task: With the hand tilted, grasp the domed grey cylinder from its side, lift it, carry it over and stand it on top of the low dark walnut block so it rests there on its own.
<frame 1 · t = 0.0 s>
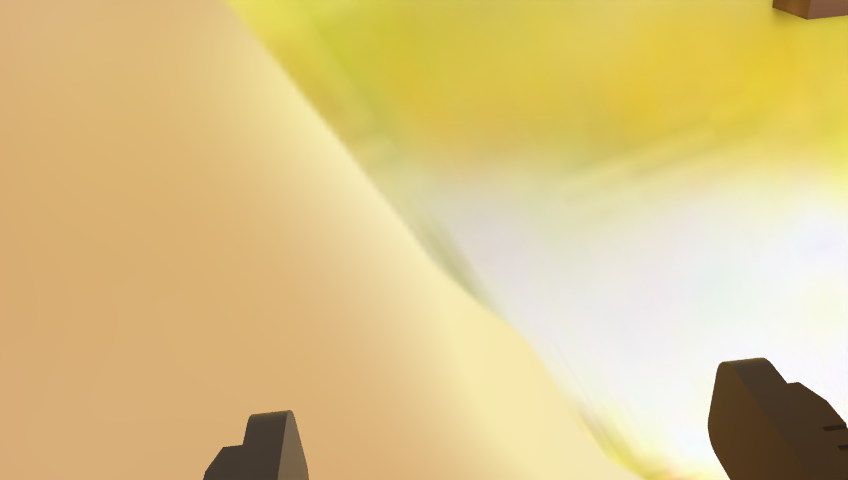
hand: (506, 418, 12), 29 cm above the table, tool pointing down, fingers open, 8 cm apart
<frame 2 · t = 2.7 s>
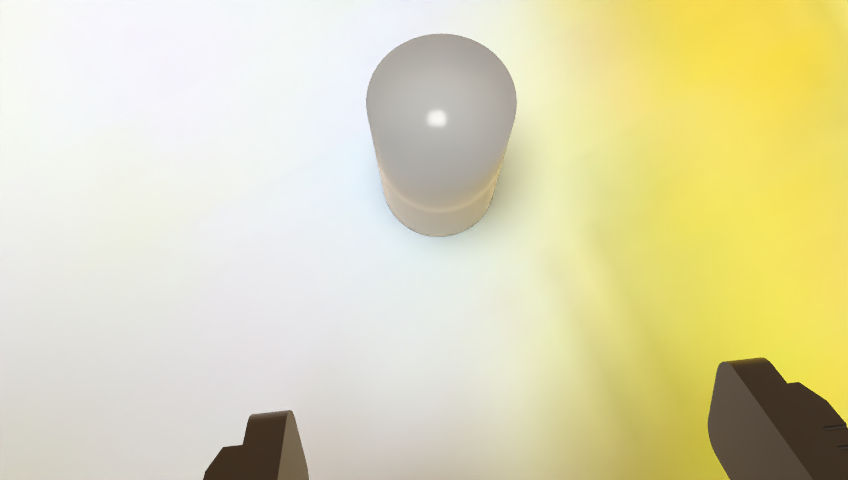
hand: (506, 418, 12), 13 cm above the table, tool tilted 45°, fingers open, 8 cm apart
domed grey cylinder: (438, 183, 27), on the table
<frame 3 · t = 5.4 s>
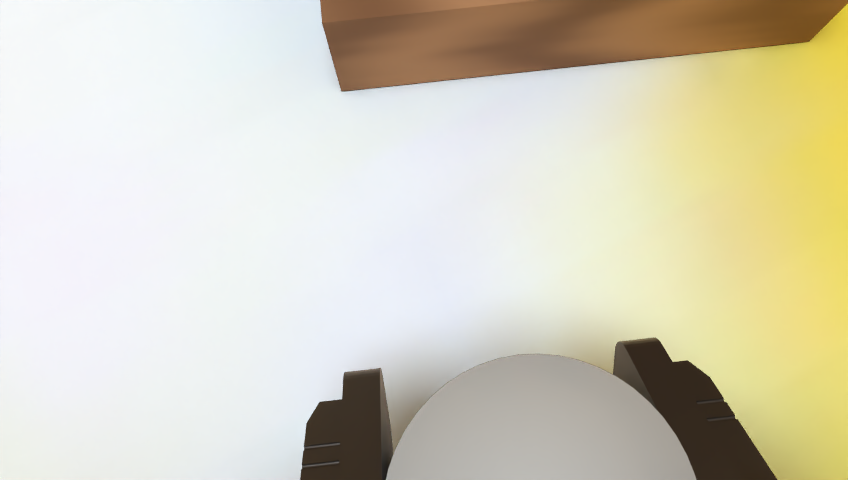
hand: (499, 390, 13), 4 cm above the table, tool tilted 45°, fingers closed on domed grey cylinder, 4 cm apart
domed grey cylinder: (493, 471, 17), on the table, touching gripper
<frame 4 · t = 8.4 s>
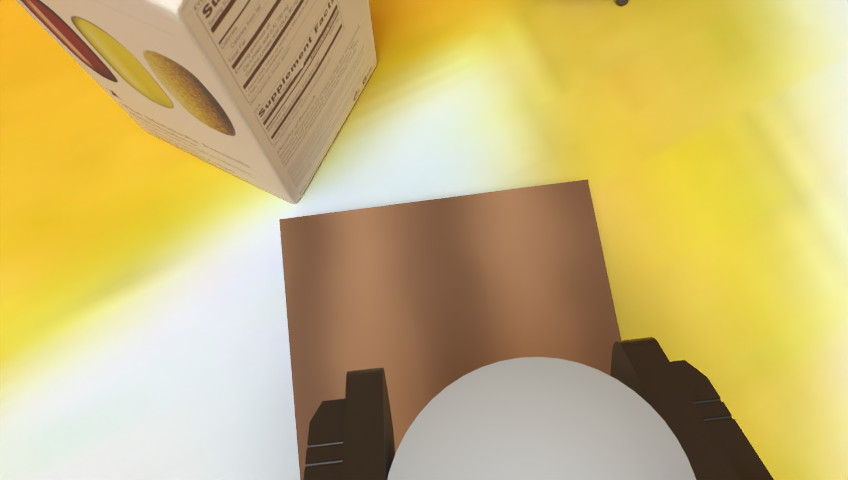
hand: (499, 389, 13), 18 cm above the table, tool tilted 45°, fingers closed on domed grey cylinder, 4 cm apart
supplement box: (264, 99, 35), on the table
walnut block: (454, 361, 31), on the table
domed grey cylinder: (494, 473, 17), point 14 cm above the table, touching gripper
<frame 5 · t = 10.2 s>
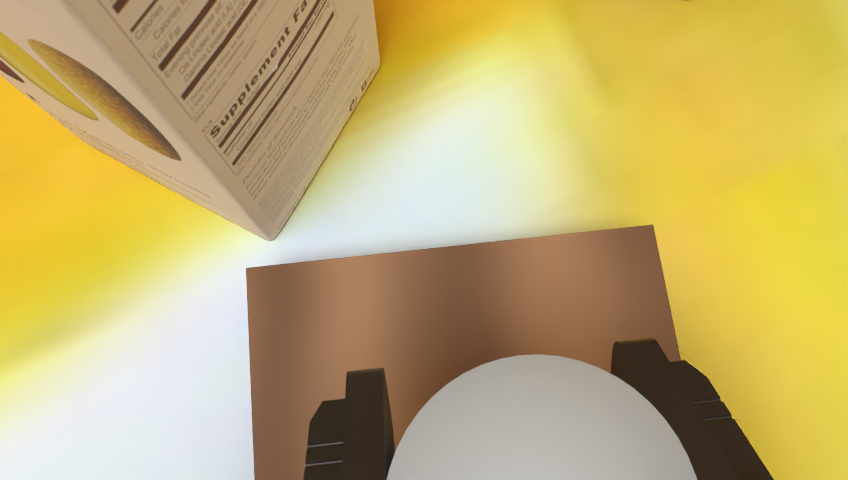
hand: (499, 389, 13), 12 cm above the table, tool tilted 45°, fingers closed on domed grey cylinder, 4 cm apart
supplement box: (238, 106, 28), on the table
walnut block: (470, 453, 24), on the table
domed grey cylinder: (494, 472, 17), point 8 cm above the table, touching gripper
when the fingers open (9 cm above the table, at t = 11.4 s): domed grey cylinder stays where it is, resting on walnut block.
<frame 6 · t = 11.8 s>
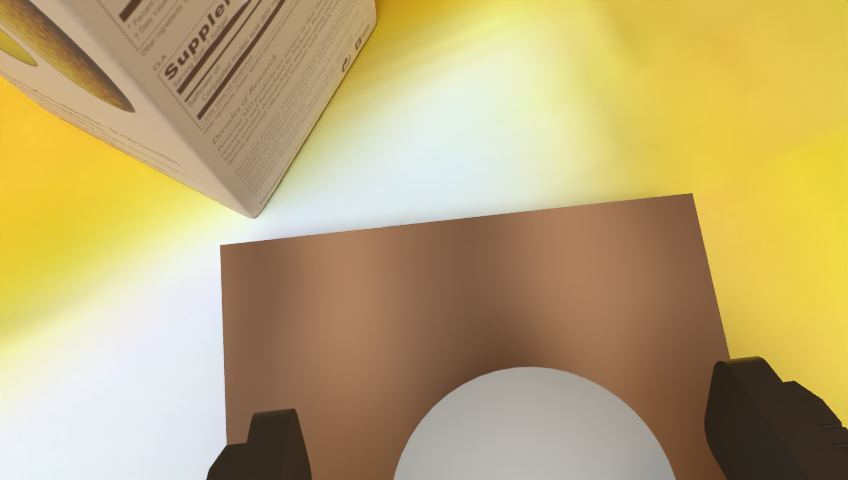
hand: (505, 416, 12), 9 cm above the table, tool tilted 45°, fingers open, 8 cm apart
supplement box: (217, 69, 25), on the table
walnut block: (480, 459, 21), on the table
domed grey cylinder: (492, 473, 18), point 3 cm above the table, touching walnut block
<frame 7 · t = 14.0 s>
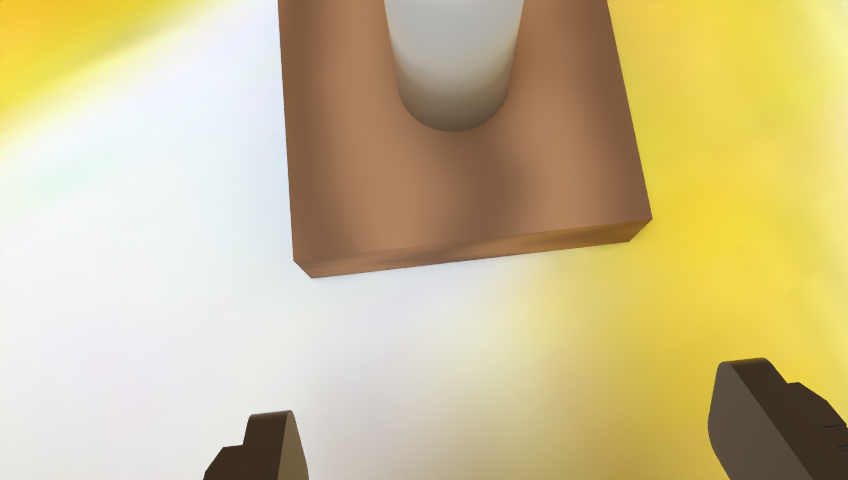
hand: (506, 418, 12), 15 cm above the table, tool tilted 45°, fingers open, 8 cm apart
walnut block: (450, 114, 31), on the table
domed grey cylinder: (452, 80, 27), point 4 cm above the table, touching walnut block
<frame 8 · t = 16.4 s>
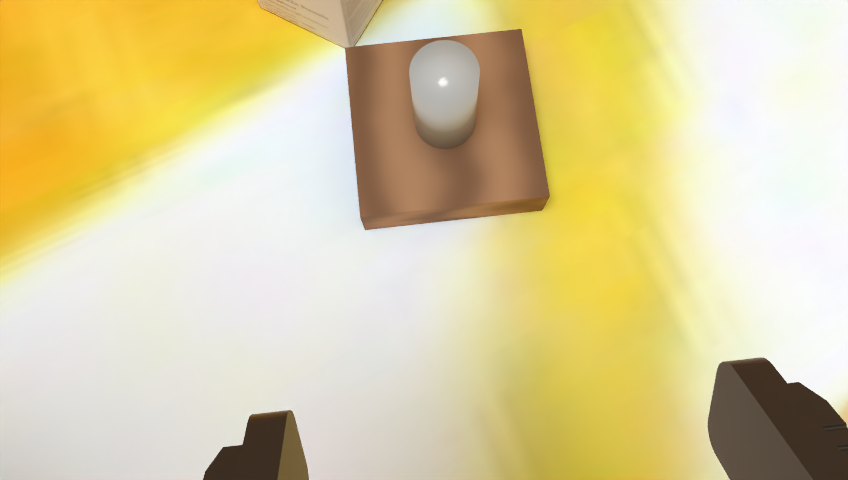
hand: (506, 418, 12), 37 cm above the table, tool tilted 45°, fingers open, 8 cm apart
walnut block: (443, 137, 53), on the table
domed grey cylinder: (444, 120, 50), point 4 cm above the table, touching walnut block
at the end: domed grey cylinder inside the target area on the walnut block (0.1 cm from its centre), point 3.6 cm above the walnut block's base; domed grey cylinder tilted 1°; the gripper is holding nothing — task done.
